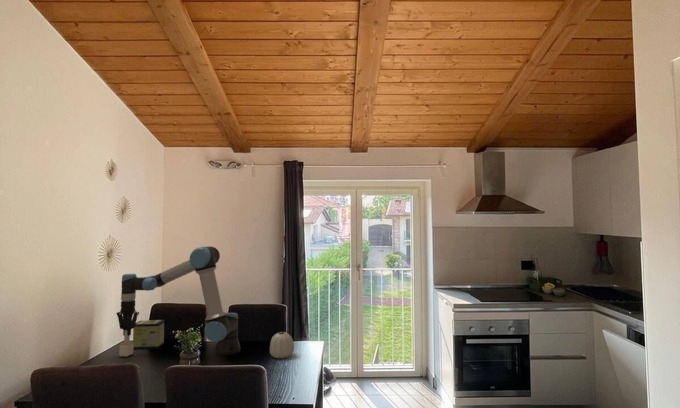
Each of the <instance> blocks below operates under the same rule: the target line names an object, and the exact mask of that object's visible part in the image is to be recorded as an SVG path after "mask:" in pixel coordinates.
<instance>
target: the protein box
mask: <svg viewBox="0 0 680 408" xmlns="http://www.w3.org/2000/svg"><path fill="white" fill-rule="evenodd" d="M132 331H133V334H132V342H134V348H133V350H155V349H156V350H158V349H159V348H160V347H162V346H163V345H164V344H165V340H164V339H165V319H157V320H156V319H153V320H152V319H151V320H139V321H136V324H135V327H134V328H133V329H132Z"/></svg>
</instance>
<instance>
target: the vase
mask: <svg viewBox="0 0 680 408" xmlns="http://www.w3.org/2000/svg"><path fill="white" fill-rule="evenodd" d="M269 344H270V345H269V354H270V355H271V356H272V357H273V358H276V359H287V358H290V357H291V356H292V354H293V353H294V352H295V351H294V350H295V347H294V346H295V345H294V340H293V337H292V336H291V335H290V334H289V333H287V332H285V331H280V332H277V333H275V334H274V335H273V336H272V337H271V340H270V342H269Z"/></svg>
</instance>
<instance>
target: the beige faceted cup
mask: <svg viewBox="0 0 680 408" xmlns="http://www.w3.org/2000/svg"><path fill="white" fill-rule="evenodd" d="M133 348H134V342H133V341H127V342H124V341H123V342H122V343H119V349H118V351H119V352H118V356H120V357H123V356H128V357H130V356H131V355H133V354H134V349H133ZM129 355H130V356H129Z"/></svg>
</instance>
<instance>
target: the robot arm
mask: <svg viewBox="0 0 680 408" xmlns="http://www.w3.org/2000/svg"><path fill="white" fill-rule="evenodd" d="M220 255H221V254H220V251H219V249H218V248H216V247H214V246H200V247H196V248H194V249H193V250H192V251H191V253H190V255H189V259H188V260H186V261H183V262H181V263H180V264H176V265H175V266H172V267H170V268H169V269H166V270H164V271H161V272H160V273H158V274H155V275H150V276H145V277H141V276H140V277H137V274H136V273H125V274H123V275H122V277H121V295H120V300H121V301H120V310H119V311H118V312H116V316H117V319H118V325H119V329H120V330H122V331H123V332H122V335H123V337H124V339H123V342H130V338H131V335H132V330H133V328H134V327H135V324H136V323H137V320H138V316H139V315H140V312H139V311H136V296H137V295H136V293H137V292H136V291H147V292H148V291H154V290H155V289H156V288H161V287H163V286H165V285H166V284H168V283H171V282H172V281H176V280H177V279H180V278H182V277H183V276H186V275H188V274H190V273H193V272H195V274H197V275H198V277H199V280H200V285H201V290H202V295H203V299H204V300H203V301H204V305H205V309H206V314H207V315H206V318H205V324H206V325H205V326H204V336H205V337H206V338H207V340H209V342H210V341H211V342H213V343H215V346H214V349H213V350H214V352H213V353H214V354H215V355H217V356H231V355H236V354H238V353H240V352H241V345H240V344H241V343H240V341H239V338H238V337H239V335H238V333H239V330H238V329H239V314H238V313H237V312H224V311H223V310H224V309H223V306H222V300H221V296H220V292H219V287H218V282H217V276H216V273H215V270H216V269H217V263H218V262H219V260H220V257H221V256H220Z"/></svg>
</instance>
